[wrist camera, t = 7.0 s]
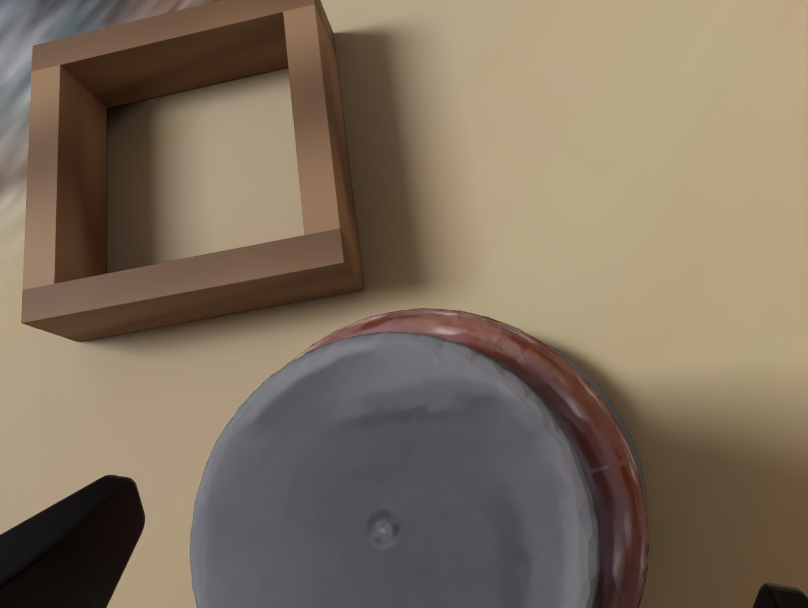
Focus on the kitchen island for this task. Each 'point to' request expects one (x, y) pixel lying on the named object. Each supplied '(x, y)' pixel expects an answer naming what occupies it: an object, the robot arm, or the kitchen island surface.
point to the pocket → (87, 169)
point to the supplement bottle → (421, 478)
